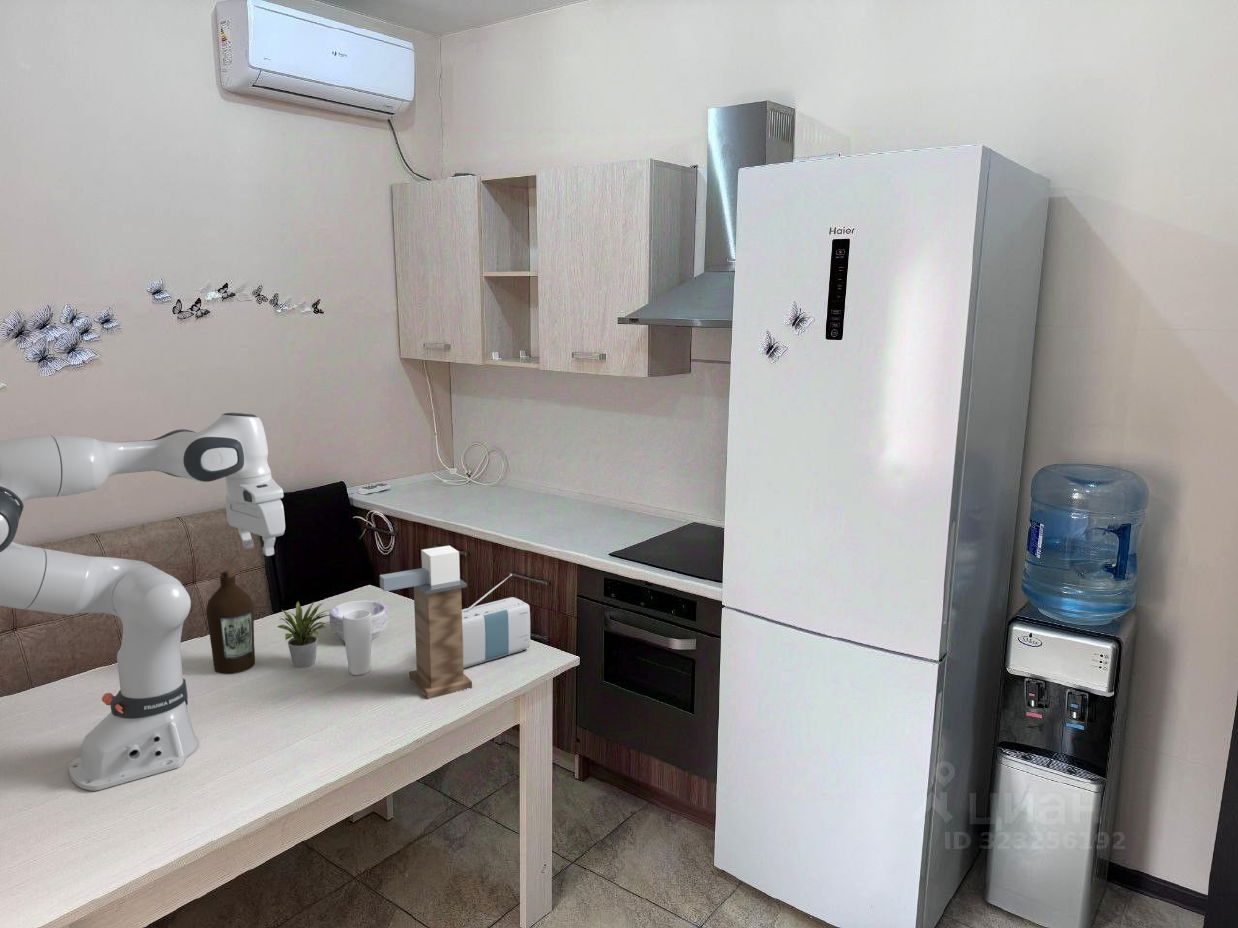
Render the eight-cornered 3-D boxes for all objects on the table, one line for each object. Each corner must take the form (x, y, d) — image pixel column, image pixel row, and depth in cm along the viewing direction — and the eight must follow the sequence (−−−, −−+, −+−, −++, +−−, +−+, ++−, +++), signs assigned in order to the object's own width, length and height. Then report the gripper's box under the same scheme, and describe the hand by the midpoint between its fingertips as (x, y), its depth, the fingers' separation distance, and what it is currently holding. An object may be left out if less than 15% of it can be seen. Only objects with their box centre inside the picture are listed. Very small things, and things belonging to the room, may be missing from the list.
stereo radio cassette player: (461, 672, 210) (459, 596, 206) (445, 661, 216) (443, 587, 212) (532, 651, 223) (531, 579, 219) (515, 641, 229) (514, 571, 225)
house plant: (312, 680, 204) (308, 617, 201) (261, 675, 207) (256, 612, 204) (343, 656, 218) (340, 596, 215) (294, 651, 220) (290, 592, 217)
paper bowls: (400, 633, 234) (399, 605, 232) (357, 651, 221) (355, 623, 220) (362, 621, 242) (361, 595, 240) (318, 639, 229) (316, 611, 227)
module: (386, 593, 189) (385, 563, 188) (378, 585, 194) (376, 556, 193) (459, 580, 199) (459, 551, 197) (450, 573, 204) (449, 545, 202)
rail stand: (427, 698, 196) (424, 592, 191) (408, 677, 206) (405, 576, 201) (472, 687, 201) (469, 583, 196) (451, 667, 212) (448, 568, 207)
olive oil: (205, 665, 212) (196, 570, 207) (248, 653, 219) (241, 561, 214) (220, 679, 204) (211, 580, 199) (264, 666, 211) (257, 571, 207)
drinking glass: (356, 679, 205) (353, 621, 202) (339, 672, 209) (336, 614, 206) (379, 670, 210) (377, 613, 207) (362, 663, 214) (360, 607, 211)
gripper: (214, 485, 183) (223, 547, 185) (257, 496, 169) (265, 563, 172) (243, 480, 187) (251, 540, 190) (287, 490, 174) (295, 555, 176)
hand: (258, 551), depth 181 cm, fingers open, 8 cm apart
